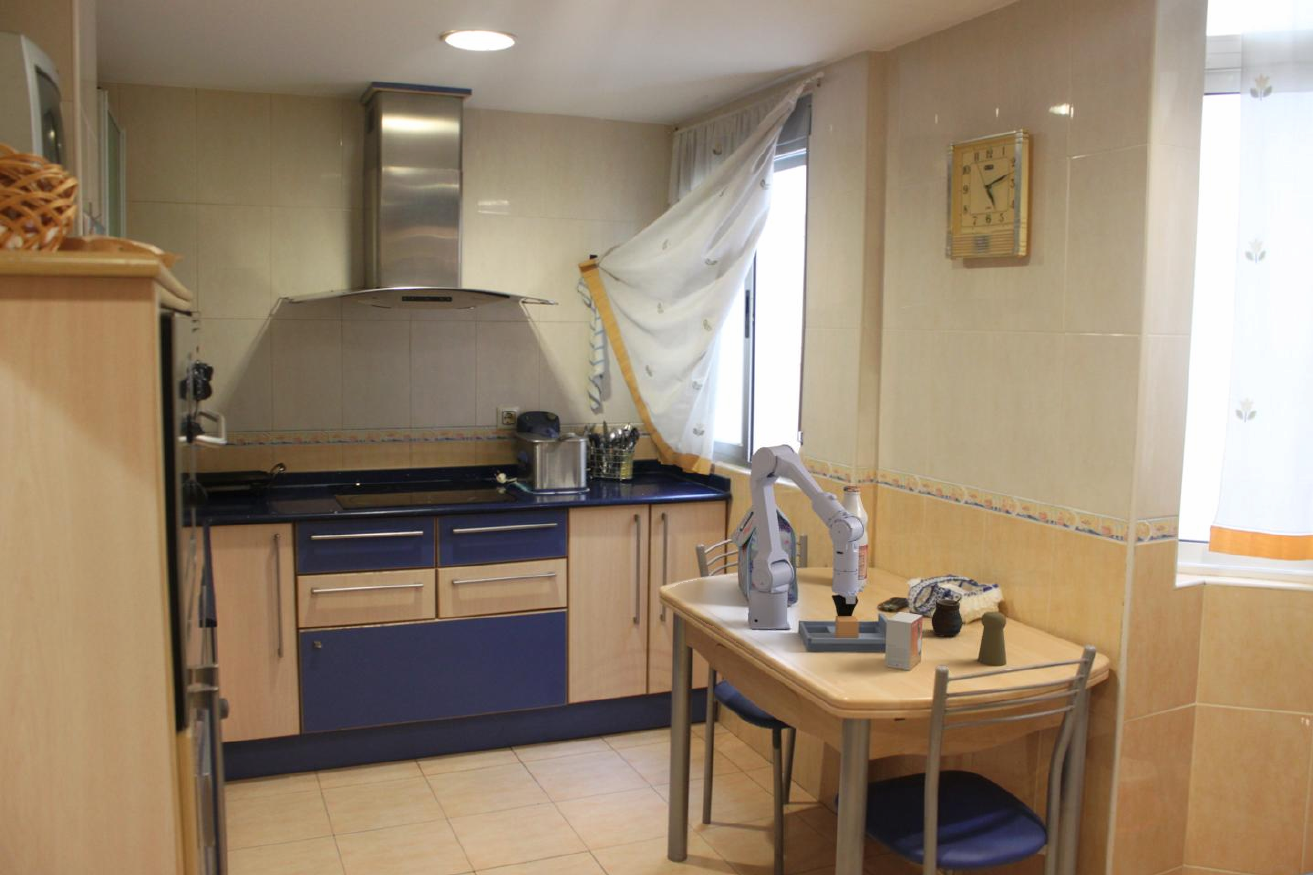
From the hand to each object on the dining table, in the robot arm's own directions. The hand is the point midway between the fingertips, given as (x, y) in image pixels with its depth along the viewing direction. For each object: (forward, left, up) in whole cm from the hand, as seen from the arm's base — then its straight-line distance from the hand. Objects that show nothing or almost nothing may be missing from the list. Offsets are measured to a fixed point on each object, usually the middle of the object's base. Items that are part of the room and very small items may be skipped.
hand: (844, 626), depth 252 cm
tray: (0, 0, -4) cm, 4 cm away
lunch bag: (-14, +42, -4) cm, 44 cm away
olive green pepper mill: (+30, -14, -4) cm, 33 cm away
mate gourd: (+26, +7, -4) cm, 27 cm away
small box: (+10, -16, -4) cm, 20 cm away
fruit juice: (+12, +56, -4) cm, 57 cm away
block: (0, -4, -2) cm, 4 cm away
